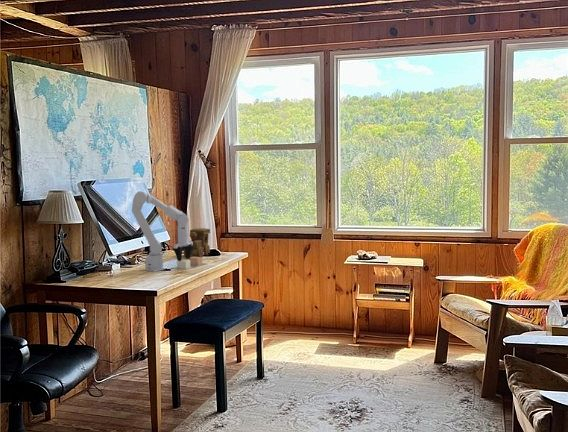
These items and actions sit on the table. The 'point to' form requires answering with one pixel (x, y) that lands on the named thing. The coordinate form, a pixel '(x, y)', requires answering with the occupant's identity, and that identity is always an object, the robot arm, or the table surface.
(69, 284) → the table surface
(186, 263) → the cream brick
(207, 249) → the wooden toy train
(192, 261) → the baseplate
